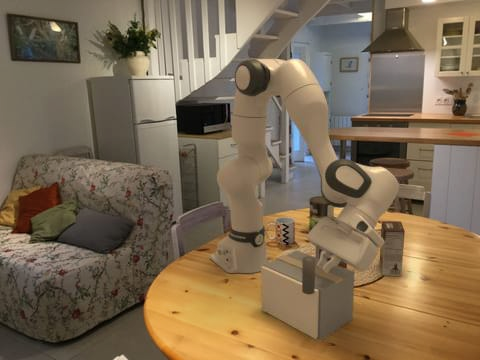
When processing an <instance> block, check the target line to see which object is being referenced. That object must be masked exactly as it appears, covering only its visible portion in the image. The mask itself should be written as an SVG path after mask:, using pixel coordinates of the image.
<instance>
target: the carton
mask: <svg viewBox="0 0 480 360" xmlns="http://www.w3.org/2000/svg"><path fill="white" fill-rule="evenodd" d="M304 257H313V258H315V289H317V290H319V306H318V337H317V338H316V340H318V341H320V342H321V341H322V340H324V339H326V338H327V337H328V336H330V335H331V334H333V333H334V332H336V331H337V330H339V329H340V328H342V327H343V326H345V325H346V324H348V323H349V322H350V321H352V320H353V318H354V317H353V316H354V315H353V314H354V295H355V294H354V291H355V290H354V289H355V271H353V270H351V269H348V268H347V269H345V268H343V267H340V266H337V265H336V266H334V267H332V268H331V269H330V270H329V272H328V273H325V272H324V271H322V270H321V269H319V268H318V267H317V266H316V265H317V263H318V262H319V260H320V259H319V258H316V256H313V255H310V254H307V253H304V252H302V251H300V250H295V251H292V252H290V253H288V254H282V255H280V256H278V257H276V259H274V260H271V261H268V263H267V264H264V265H263V266H265V267H267V268H270V269H272V270H274V271H276V272H279V273H281V274H283V275H286V276H288V277H290V278H292V279H295V280H297V281H299V282H301V283H302V259H303V258H304ZM326 262H327V261H326Z"/></svg>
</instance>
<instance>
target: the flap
mask: <svg viewBox="0 0 480 360" xmlns="http://www.w3.org/2000/svg"><path fill="white" fill-rule="evenodd" d="M313 257H314V256H313ZM313 257H304V258H303V259H302V283H301V282H299V281H297V280H295V279H292V278H290V277H288V276H286V275H283V274H281V273H279V272H276V271H274V270H272V269H270V268H267V267H265V266H262V267H261V271H260V273H261V274H260V275H261V277H260V279H261V281H260V282H261V284H260V285H261V310H262V311H263V312H266V313H268V314H270V315H271V316H273V317H275V318H277V319H278V320H280V321H282V322H285V323H286V324H288V325H289V326H291V327H293V328H295V329H296V330H299V331H300V332H302V333H304V334H305V335H308V337H309V336H310V337H312V338H313V339H316V338H317V337H318V306H319V290H317V289H315V258H313ZM316 340H317V339H316Z"/></svg>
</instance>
